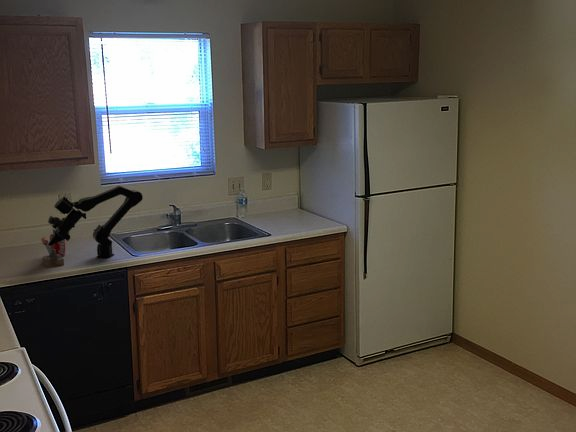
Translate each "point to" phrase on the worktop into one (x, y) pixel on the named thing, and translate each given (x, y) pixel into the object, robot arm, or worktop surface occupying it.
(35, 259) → the worktop surface
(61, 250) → the soda can
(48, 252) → the copper roller
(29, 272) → the worktop surface
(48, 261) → the switch block
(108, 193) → the robot arm
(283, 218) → the worktop surface
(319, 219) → the worktop surface
